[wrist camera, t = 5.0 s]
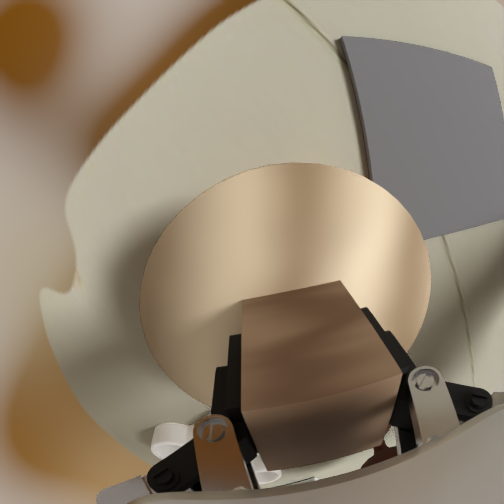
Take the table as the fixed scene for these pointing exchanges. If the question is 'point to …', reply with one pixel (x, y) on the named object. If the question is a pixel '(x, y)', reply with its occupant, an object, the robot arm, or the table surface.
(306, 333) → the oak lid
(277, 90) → the table surface
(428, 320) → the table surface
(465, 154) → the rubber mat
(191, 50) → the table surface
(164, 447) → the white holed part
